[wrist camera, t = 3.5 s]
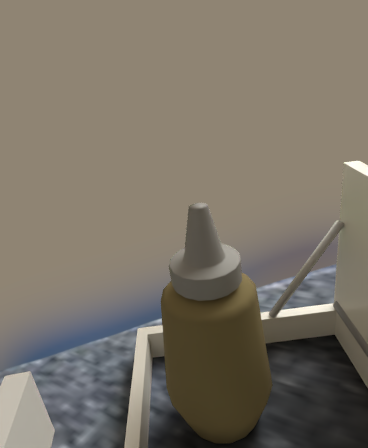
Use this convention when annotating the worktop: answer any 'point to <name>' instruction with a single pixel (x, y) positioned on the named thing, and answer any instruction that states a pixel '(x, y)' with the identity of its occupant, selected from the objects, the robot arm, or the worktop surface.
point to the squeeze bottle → (213, 336)
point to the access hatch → (291, 318)
